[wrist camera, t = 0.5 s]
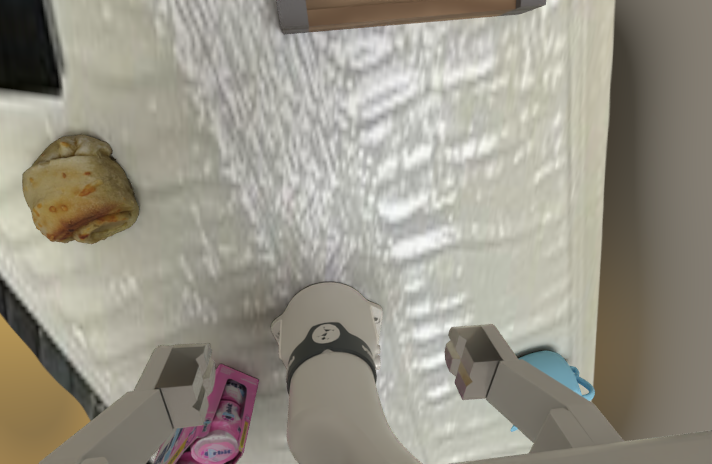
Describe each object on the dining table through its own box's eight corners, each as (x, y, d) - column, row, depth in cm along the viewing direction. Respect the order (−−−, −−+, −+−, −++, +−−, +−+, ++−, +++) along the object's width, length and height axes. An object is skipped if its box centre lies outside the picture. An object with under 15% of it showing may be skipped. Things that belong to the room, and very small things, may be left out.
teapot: (510, 410, 56) (612, 379, 56) (480, 363, 66) (567, 336, 66) (514, 456, 61) (608, 428, 61) (486, 406, 71) (567, 381, 71)
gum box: (223, 356, 57) (199, 429, 45) (264, 373, 60) (252, 447, 48) (160, 442, 63) (124, 528, 51) (200, 455, 66) (175, 539, 53)
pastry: (125, 251, 48) (92, 279, 41) (27, 210, 45) (-29, 234, 37) (162, 167, 45) (133, 182, 37) (58, 115, 41) (3, 121, 34)
